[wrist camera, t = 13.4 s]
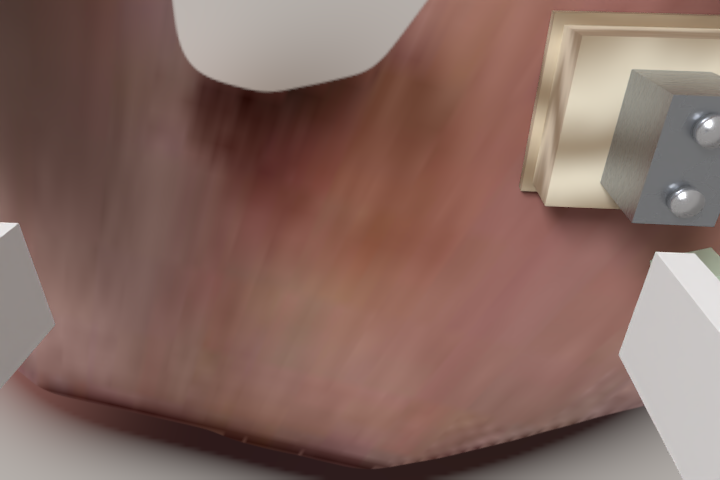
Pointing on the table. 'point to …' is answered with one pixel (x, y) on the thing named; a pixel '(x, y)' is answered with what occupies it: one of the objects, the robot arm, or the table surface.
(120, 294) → the table surface
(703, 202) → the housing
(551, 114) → the plinth
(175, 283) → the table surface
